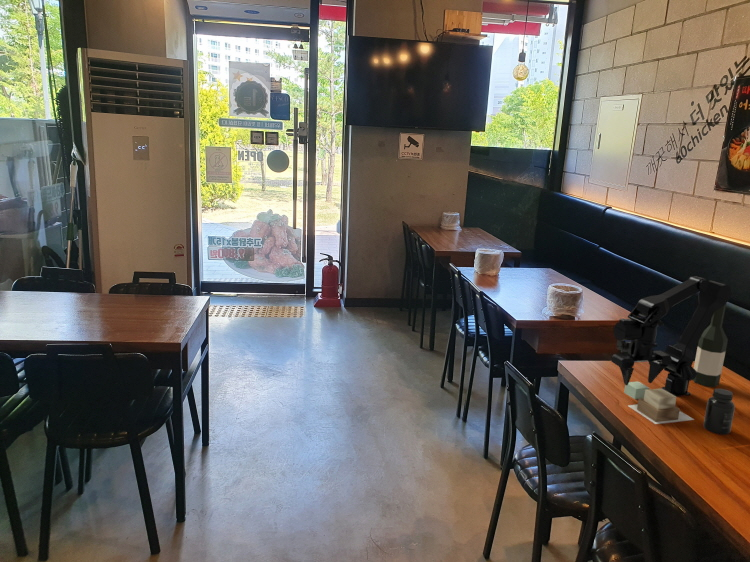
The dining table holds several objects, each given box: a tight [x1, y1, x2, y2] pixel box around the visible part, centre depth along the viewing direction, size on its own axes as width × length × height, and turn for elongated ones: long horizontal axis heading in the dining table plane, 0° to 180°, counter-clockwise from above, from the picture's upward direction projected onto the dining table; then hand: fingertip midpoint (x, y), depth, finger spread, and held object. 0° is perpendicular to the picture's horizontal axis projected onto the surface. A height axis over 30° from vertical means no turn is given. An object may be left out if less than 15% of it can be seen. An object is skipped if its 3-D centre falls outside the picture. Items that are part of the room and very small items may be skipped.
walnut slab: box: [636, 398, 681, 422], centre depth 170 cm, size 8×8×4 cm
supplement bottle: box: [703, 388, 736, 436], centre depth 161 cm, size 7×7×12 cm
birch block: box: [643, 387, 678, 409], centre depth 169 cm, size 6×6×4 cm
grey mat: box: [627, 403, 695, 425], centre depth 171 cm, size 14×12×1 cm
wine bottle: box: [692, 303, 729, 388], centre depth 193 cm, size 8×8×30 cm
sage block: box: [623, 381, 650, 400], centre depth 183 cm, size 5×5×4 cm
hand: (637, 383), depth 182 cm, fingers open, 9 cm apart
